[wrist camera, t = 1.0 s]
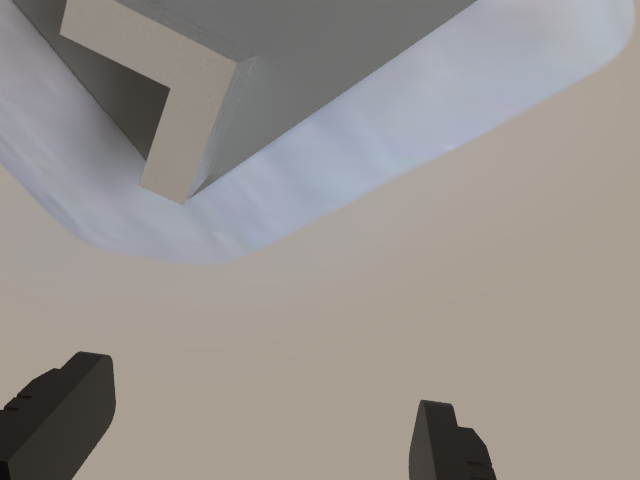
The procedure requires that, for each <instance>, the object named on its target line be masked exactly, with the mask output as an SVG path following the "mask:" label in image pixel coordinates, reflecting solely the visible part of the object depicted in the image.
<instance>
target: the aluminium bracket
mask: <svg viewBox="0 0 640 480" xmlns="http://www.w3.org/2000/svg"><path fill="white" fill-rule="evenodd" d="M60 35H62V36H64V37H66V38H68V39H70V40H72V41H75V42H77V43H79V44H81V45H83V46H85V47H87V48H89V49H91V50H93V51H95V52H97V53H99V54H101V55H103V56H105V57H107V58H109V59H111V60H114V61H116V62H118V63H120V64H122V65H124V66H126V67H128V68H130V69H132V70H134V71H136V72H138V73H140V74H142V75H144V76H146V77H148V78H150V79H153V80H155V81H157V82H159V83H161V84H163V85H165V86H167V87H169V88H170V92H169V95H168V98H167V101H166V104H165V107H164V110H163V113H162V116H161V119H160V122H159V125H158V128H157V131H156V134H155V137H154V140H153V143H152V146H151V149H150V152H149V155H148V158H147V161H146V164H145V167H144V170H143V173H142V176H141V179H140V182H139V186H141V187H143V188H146V189H148V190H150V191H152V192H155V193H157V194H159V195H161V196H163V197H166V198H168V199H170V200H172V201H174V202H177V203H179V204H181V205H184V203H185V202H186V201H187V200H188V199H189V198H190V197H191V196H192V194H193V193H194V192H195V191H196V190H197V189H198V188H199V187H200V186H201V184H202V183H203V182H204V181H205V180H206V179H207V178H208V177H209V175H210V174H211V173H212V171H213V168H214V166H215V163H216V161H217V158H218V156H219V153H220V151H221V148H222V146H223V143H224V141H225V138H226V136H227V133H228V131H229V128H230V126H231V123H232V121H233V118H234V116H235V113H236V111H237V108H238V106H239V103H240V101H241V98H242V96H243V93H244V91H245V88H246V85H247V83H248V80H249V78H250V75H251V73H252V70H253V68H254V65H255V63H256V60H257V58H258V54H256V53H254V52H252V51H250V50H248V49H246V48H244V47H242V46H240V45H238V44H236V43H234V42H232V41H230V40H228V39H226V38H224V37H222V36H220V35H218V34H217V33H215V32H213V31H211V30H209V29H207V28H205V27H203V26H201V25H199V24H197V23H195V22H193V21H191V20H189V19H187V18H185V17H183V16H181V15H179V14H177V13H176V12H174V11H172V10H170V9H168V8H166V7H164V6H162V5H160V4H158V3H156V2H154V1H152V0H67V3H66V8H65V12H64V17H63V21H62V26H61V30H60Z"/></svg>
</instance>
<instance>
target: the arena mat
mask: <svg viewBox="0 0 640 480" xmlns="http://www.w3.org/2000/svg"><path fill="white" fill-rule="evenodd" d="M14 1H15V2H16V4H17V5H18V6H19V7H20V9H21V10H22V11H23V12H24V13H25V15H26V16H27V17H28V18H29V19H30V21H31V22H32V23H33V24H34V25H35V27H36V28H37V29H38V30H39V31H40V33H41V34H42V35H43V36H44V37H45V39H46V40H47V41H48V42H49V43H50V45H51V46H52V47H53V48H54V49H55V51H56V52H57V53H58V54H59V55H60V57H61V58H62V59H63V60H64V61H65V63H66V64H67V65H68V66H69V67H70V69H71V70H72V71H73V72H74V74H75V75H76V76H77V77H78V78H79V80H80V81H81V82H82V83H83V84H84V86H85V87H86V88H87V89H88V90H89V92H90V93H91V94H92V95H93V96H94V98H95V99H96V100H97V101H98V102H99V104H100V105H101V106H102V107H103V108H104V110H105V111H106V112H107V113H108V114H109V116H110V117H111V118H112V119H113V120H114V122H115V123H116V124H117V125H118V126H119V128H120V129H121V130H122V131H123V132H124V134H125V135H126V136H127V137H128V138H129V140H130V141H131V142H132V143H133V145H134V146H135V147H136V148H137V149H138V151H139V152H140V153H141V154H142V155H143V157H144V158H145V159H146V160H147V158H148V155H149V152H150V149H151V146H152V143H153V140H154V137H155V134H156V131H157V128H158V125H159V122H160V119H161V116H162V113H163V110H164V107H165V104H166V101H167V98H168V95H169V92H170V88H169V87H167V86H165V85H163V84H161V83H159V82H157V81H155V80H153V79H150V78H148V77H146V76H144V75H142V74H140V73H138V72H136V71H134V70H132V69H130V68H128V67H126V66H124V65H122V64H120V63H118V62H116V61H114V60H111V59H109V58H107V57H105V56H103V55H101V54H99V53H97V52H95V51H93V50H91V49H89V48H87V47H85V46H83V45H81V44H79V43H77V42H75V41H72V40H70V39H68V38H66V37H64V36H62V35H60V30H61V26H62V21H63V17H64V12H65V8H66V3H67V0H14ZM152 1H154V2H156V3H158V4H160V5H162V6H164V7H166V8H168V9H170V10H172V11H174V12H176V13H177V14H179V15H181V16H183V17H185V18H187V19H189V20H191V21H193V22H195V23H197V24H199V25H201V26H203V27H205V28H207V29H209V30H211V31H213V32H215V33H217V34H218V35H220V36H222V37H224V38H226V39H228V40H230V41H232V42H234V43H236V44H238V45H240V46H242V47H244V48H246V49H248V50H250V51H252V52H254V53H256V54H258V58H257V60H256V63H255V65H254V68H253V70H252V73H251V75H250V78H249V80H248V83H247V85H246V88H245V91H244V93H243V96H242V98H241V101H240V103H239V106H238V108H237V111H236V113H235V116H234V118H233V121H232V123H231V126H230V128H229V131H228V133H227V136H226V138H225V141H224V143H223V146H222V148H221V151H220V153H219V156H218V158H217V161H216V163H215V166H214V168H213V171H212V173H211V174H210V175H209V177H208V178H207V179H206V180H205V181H204V182H203V183H202V184H201V186H200V187H199V188H198V189H197V190H196V191H195V192H194V193H193V194H192V196H194V195H195V194H197V193H198V192H200V191H201V190H203V189H204V188H205V187H207V186H208V185H210V184H211V183H213V182H214V181H216V180H217V179H219V178H220V177H221V176H223V175H224V174H226V173H227V172H229V171H230V170H232V169H233V168H234V167H236V166H237V165H239V164H240V163H242V162H243V161H245V160H246V159H248V158H249V157H250V156H252V155H253V154H255V153H256V152H258V151H259V150H261V149H262V148H264V147H265V146H266V145H268V144H269V143H271V142H272V141H274V140H275V139H277V138H278V137H280V136H281V135H282V134H284V133H285V132H287V131H288V130H290V129H291V128H293V127H294V126H295V125H297V124H298V123H300V122H301V121H303V120H304V119H306V118H307V117H309V116H310V115H311V114H313V113H314V112H316V111H317V110H319V109H320V108H322V107H323V106H325V105H326V104H327V103H329V102H330V101H332V100H333V99H335V98H336V97H338V96H339V95H341V94H342V93H343V92H345V91H346V90H348V89H349V88H351V87H352V86H354V85H355V84H357V83H358V82H359V81H361V80H362V79H364V78H365V77H367V76H368V75H370V74H371V73H372V72H374V71H375V70H377V69H378V68H380V67H381V66H383V65H384V64H386V63H387V62H388V61H390V60H391V59H393V58H394V57H396V56H397V55H399V54H400V53H402V52H403V51H404V50H406V49H407V48H409V47H410V46H412V45H413V44H415V43H416V42H418V41H419V40H420V39H422V38H423V37H425V36H426V35H428V34H429V33H431V32H432V31H433V30H435V29H436V28H438V27H439V26H441V25H442V24H444V23H445V22H447V21H448V20H449V19H451V18H452V17H454V16H455V15H457V14H458V13H460V12H461V11H463V10H464V9H465V8H467V7H468V6H470V5H471V4H473V3H474V2H476V1H477V0H152ZM192 196H191V197H192ZM191 197H190V198H191Z"/></svg>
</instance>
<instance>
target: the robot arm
mask: <svg viewBox="0 0 640 480" xmlns="http://www.w3.org/2000/svg"><path fill="white" fill-rule="evenodd" d="M112 362H113V361H112V358H111V357H110V356H109V355H104V354H96V353H89V352H81V351H80V352H78V353H76V354H75V355H74V356H73V357H72V358H71V359H70V360H69V361H68V362H67V363H66V364H65V365H64V366H63V367H62V368H61V369H56V368H54V369H52V370H50V371H48V372H46V373H44V374H42V375H41V376H39V377H37V378H36V379H33V380H32V381H31V382H30V383H29V384H28V385H27V386H26V387H25V388H24V389H22V390H21V391H20V392H19V393H18V394H17V397H16V398H15V397H14V398H13V399H12V400H11V401H10V402H9V403H7V404H6V405H5V406H4V409H3V410H0V480H72V478H73V477H74V475H75V474H76V473H77V471H78V470H79V468H80V467H81V466H82V464H83V463H84V461H85V460H86V459H87V457H88V456H89V454H90V453H91V452H92V450H93V449H94V448H95V446H96V445H97V443H98V442H99V441H100V439H101V438H102V436H103V435H104V434H105V432H106V431H107V429H108V428H109V426H110V424H111V422H112V419H113V416H114V413H115V407H116V400H115V386H114V373H113V363H112ZM409 479H410V480H497V479H496V476H495V473H494V470H493V468H492V463H491V460H490V457H489V454H488V450H487V447H486V445H485V444H484V443H483V441H482V440H481V439H480V437H479V436H478V435H477V434H476V433H475V431H474V430H473V429H472V428H464V427H458V425H457V421H456V417H455V413H454V409H453V406H452V404H449V403H442V402H435V401H427V400H421V401H420V404H419V408H418V413H417V417H416V422H415V427H414V432H413V437H412V441H411V447H410V453H409Z"/></svg>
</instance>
